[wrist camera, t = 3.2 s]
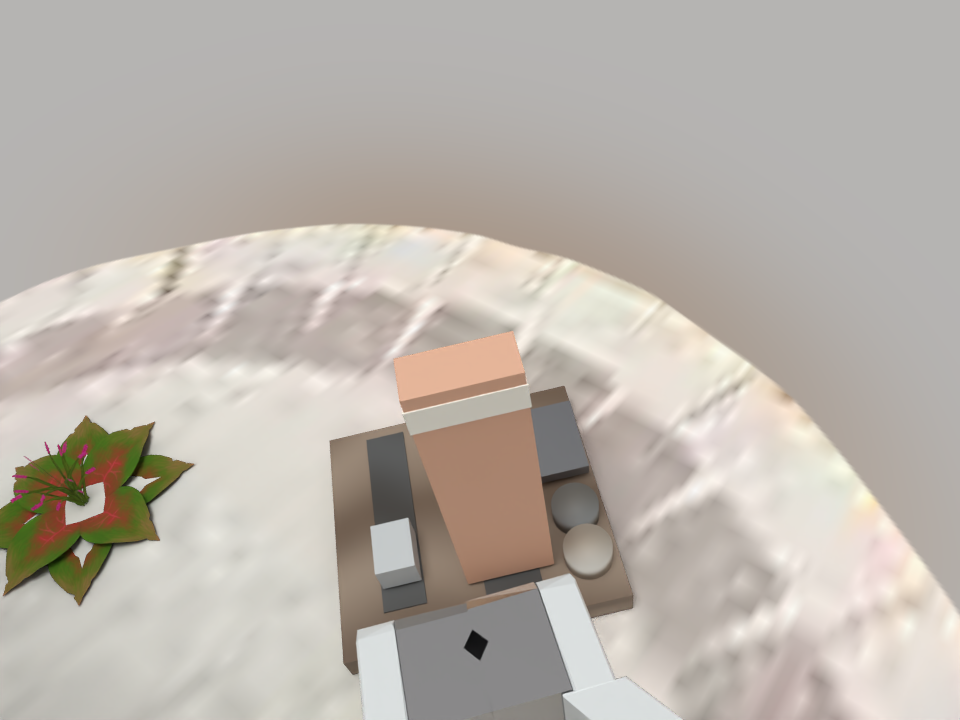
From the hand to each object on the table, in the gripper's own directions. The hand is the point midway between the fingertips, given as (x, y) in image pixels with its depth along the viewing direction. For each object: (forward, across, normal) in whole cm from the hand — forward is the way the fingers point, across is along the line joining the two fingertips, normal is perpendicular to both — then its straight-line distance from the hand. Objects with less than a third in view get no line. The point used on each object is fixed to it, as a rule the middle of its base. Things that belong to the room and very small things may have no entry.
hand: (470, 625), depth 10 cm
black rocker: (+21, -6, +17) cm, 27 cm away
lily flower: (+28, +19, +20) cm, 39 cm away
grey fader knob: (+18, +2, +19) cm, 26 cm away
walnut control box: (+20, -1, +20) cm, 28 cm away
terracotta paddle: (+16, -3, +19) cm, 25 cm away
